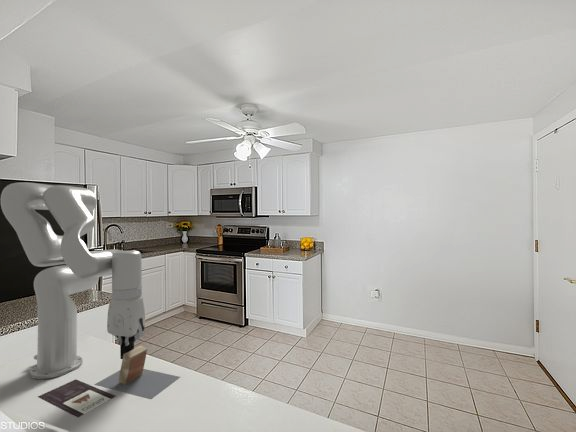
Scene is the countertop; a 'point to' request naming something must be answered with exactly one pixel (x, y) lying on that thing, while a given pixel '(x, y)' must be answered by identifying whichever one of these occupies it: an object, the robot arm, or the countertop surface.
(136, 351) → the wooden block
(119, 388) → the mat
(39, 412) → the countertop surface
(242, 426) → the countertop surface
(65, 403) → the chocolate bar
